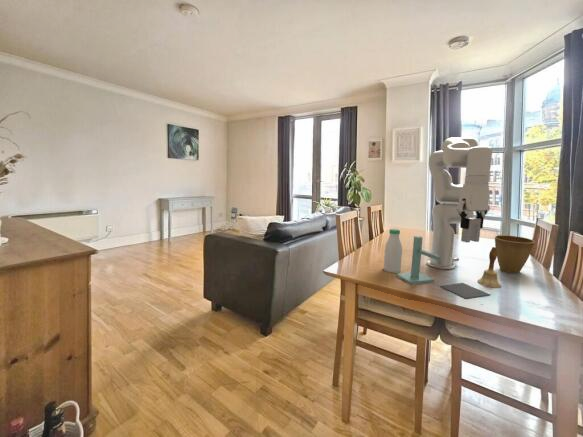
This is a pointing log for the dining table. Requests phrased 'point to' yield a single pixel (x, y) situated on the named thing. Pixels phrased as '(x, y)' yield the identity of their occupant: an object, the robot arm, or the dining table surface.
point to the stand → (417, 264)
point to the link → (472, 231)
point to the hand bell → (490, 272)
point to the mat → (464, 290)
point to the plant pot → (512, 252)
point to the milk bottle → (393, 252)
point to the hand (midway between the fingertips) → (471, 227)
